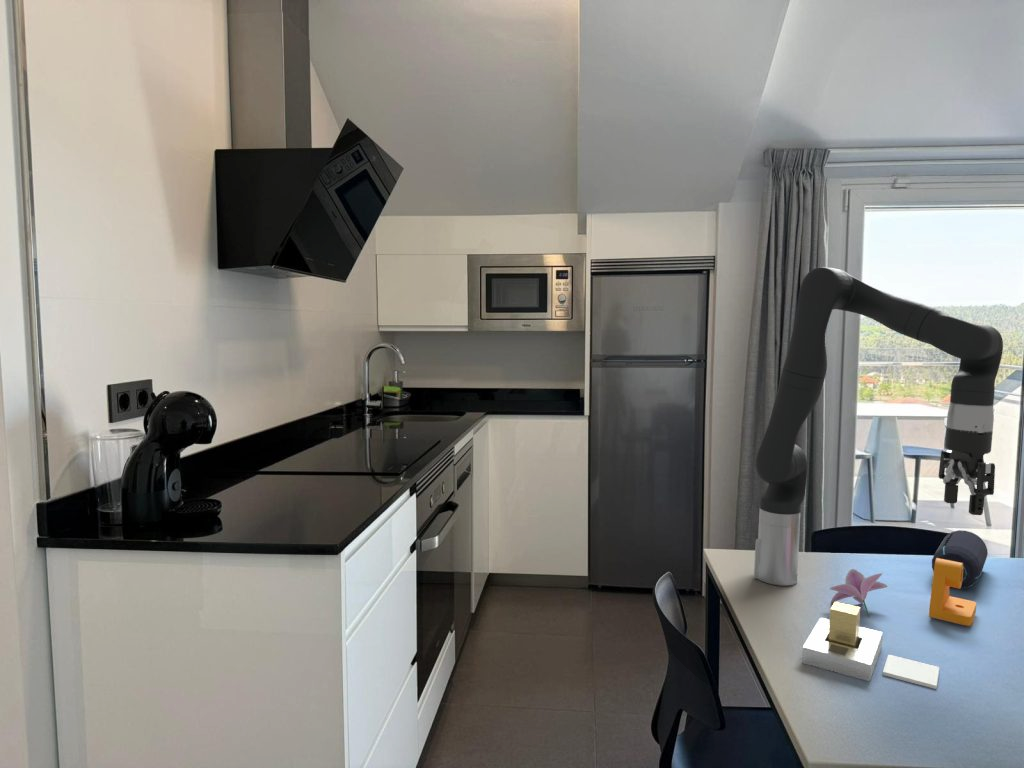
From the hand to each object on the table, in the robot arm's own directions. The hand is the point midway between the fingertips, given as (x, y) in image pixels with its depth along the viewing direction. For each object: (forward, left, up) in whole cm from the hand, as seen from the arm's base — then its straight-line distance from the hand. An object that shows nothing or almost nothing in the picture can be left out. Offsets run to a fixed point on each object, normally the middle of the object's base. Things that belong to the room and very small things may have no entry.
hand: (962, 508), depth 134 cm
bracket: (-1, +10, -26) cm, 28 cm away
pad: (-6, -23, -26) cm, 35 cm away
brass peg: (-17, -23, -26) cm, 38 cm away
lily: (-18, +2, -26) cm, 32 cm away
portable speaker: (0, +40, -26) cm, 48 cm away
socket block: (-17, -23, -26) cm, 38 cm away
